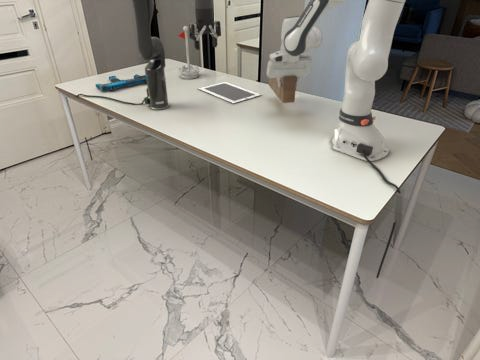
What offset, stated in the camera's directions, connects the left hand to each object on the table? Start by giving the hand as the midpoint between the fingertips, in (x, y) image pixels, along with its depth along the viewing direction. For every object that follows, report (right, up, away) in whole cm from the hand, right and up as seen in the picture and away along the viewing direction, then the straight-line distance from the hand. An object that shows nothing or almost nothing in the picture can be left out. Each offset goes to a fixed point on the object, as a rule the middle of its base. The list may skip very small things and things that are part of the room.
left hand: (206, 48), depth 147 cm
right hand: (+37, -13, +12) cm, 41 cm away
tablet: (+8, -7, +46) cm, 48 cm away
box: (+35, -14, +24) cm, 44 cm away
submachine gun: (-56, +2, +61) cm, 83 cm away
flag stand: (-18, +10, +73) cm, 75 cm away
